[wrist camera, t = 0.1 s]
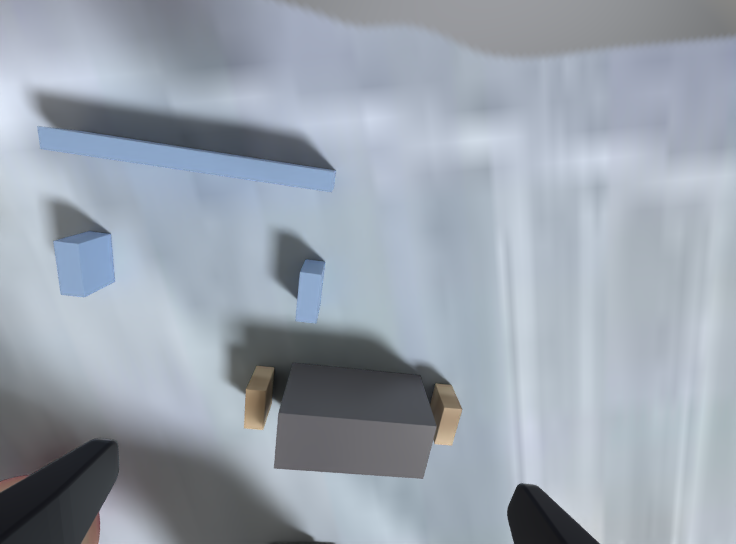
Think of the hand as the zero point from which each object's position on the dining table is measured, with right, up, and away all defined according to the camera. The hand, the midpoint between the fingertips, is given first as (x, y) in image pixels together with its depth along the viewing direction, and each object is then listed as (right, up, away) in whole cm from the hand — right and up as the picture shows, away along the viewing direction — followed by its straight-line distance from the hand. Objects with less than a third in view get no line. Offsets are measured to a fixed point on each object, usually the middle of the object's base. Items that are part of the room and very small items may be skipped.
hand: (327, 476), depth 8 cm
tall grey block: (0, -4, +17) cm, 17 cm away
